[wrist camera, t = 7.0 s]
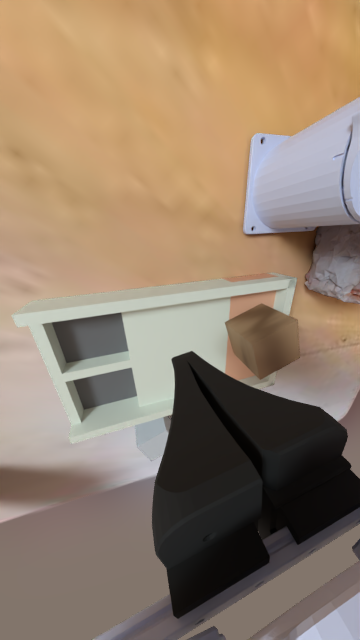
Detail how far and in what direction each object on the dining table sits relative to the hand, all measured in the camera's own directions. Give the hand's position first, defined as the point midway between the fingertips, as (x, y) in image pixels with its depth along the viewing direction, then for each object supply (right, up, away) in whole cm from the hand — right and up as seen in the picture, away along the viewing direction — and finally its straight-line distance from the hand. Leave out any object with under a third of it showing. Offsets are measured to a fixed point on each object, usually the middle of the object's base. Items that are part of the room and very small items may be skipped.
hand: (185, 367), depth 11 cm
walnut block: (+8, +2, +11) cm, 14 cm away
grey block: (-4, -12, +16) cm, 20 cm away
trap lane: (-1, 0, +12) cm, 12 cm away
